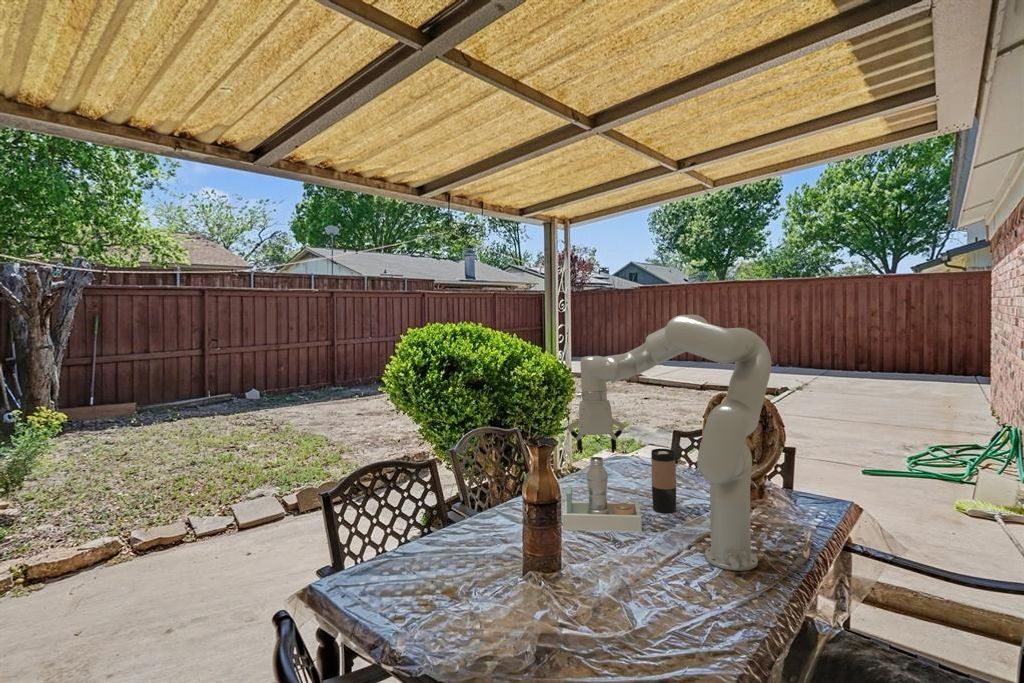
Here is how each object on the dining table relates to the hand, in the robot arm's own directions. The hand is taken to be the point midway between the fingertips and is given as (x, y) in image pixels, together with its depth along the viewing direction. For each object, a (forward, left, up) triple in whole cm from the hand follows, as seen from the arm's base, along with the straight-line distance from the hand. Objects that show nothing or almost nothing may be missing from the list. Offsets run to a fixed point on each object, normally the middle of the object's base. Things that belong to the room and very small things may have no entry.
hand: (596, 452), depth 160 cm
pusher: (0, +9, -22) cm, 23 cm away
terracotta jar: (0, -8, -22) cm, 23 cm away
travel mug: (+13, -21, -23) cm, 34 cm away
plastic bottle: (0, 0, -22) cm, 22 cm away
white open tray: (0, -1, -23) cm, 23 cm away
